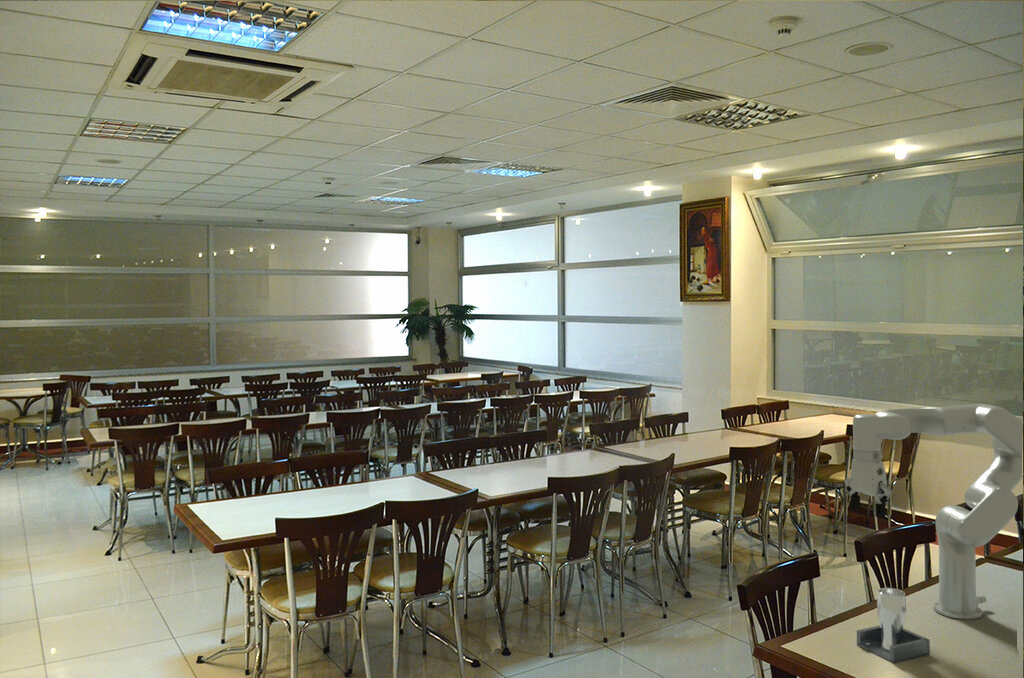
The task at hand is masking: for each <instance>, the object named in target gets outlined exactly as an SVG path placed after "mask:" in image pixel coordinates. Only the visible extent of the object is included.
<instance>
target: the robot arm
mask: <svg viewBox="0 0 1024 678" xmlns="http://www.w3.org/2000/svg"><path fill="white" fill-rule="evenodd" d="M1023 423H1024V422H1023V421H1022V420H1021V419H1019V417H1017V416H1015V415H1014V414H1013V413H1011V412H1009V410H1007V409H1005V408H1004V407H1001V406H997V405H996V406H995V405H992V404H991V405H990V404H987V403H972V404H963V405H962V404H961V405H951V406H950V405H949V406H938V407H937V406H936V407H934V406H933V407H932V406H931V407H916V408H915V407H913V408H897V409H885V410H880V411H877V412H876V413H875V414H874V413H873V414H872V413H859V414H855V415H854V416H853V418H852V441H853V443H852V444H853V445H852V446H853V451H852V452H853V453H852V455H853V456H852V460H851V466H850V467H851V468H850V475H849V476H850V477H847V478H845V479H844V480H843V481H844V485H845V489H846V490H847V492H848V496H849V497H850V509H851V510H852V511H855V510H860V509H861V495H859V494H863V495H866V496H867V495H868V496H871V497H873V498H874V499H875V501H876V503H875V517H876V518H881V517H882V518H884V517H886V515H887V509H886V506H887V505H886V504H887V503H888V502H889V500H890V499H891V496H892V494H893V490H892V489H891V488H890V486H888V485H887V483H888V482H887V473H886V469H885V468H886V467H885V464H884V462H883V461H882V459H883V455H882V441H881V440H882V439H885V440H894V441H900V440H901V441H902V440H904V439H907V438H908V437H909V436H910V435H911V434H912V433H917V434H924V435H931V436H939V437H941V436H942V437H943V436H955V435H967V434H970V435H971V434H977V433H978V434H981V433H982V434H985V435H989V436H992V439H991V440H992V442H991V443H992V446H993V459H992V462H991V463H990V465H988V467H987V468H986V470H984V471H983V472H982V474H981V475H980V476H979V477H977V479H975V480H974V481H973V482H972V483H971V485H970V486H969V487H968V488H966V490H965V492H964V494H963V495H964V497H963V499H964V503H966V505H967V506H968V507H969V508H970V509H972V510H969V509H967V508H965V507H962V506H959V505H955V504H949V505H946V506H945V505H944V506H943V507H942V508H940V509H939V510H938V511H937V514H936V516H935V529H936V530H935V531H936V536H937V541H938V584H939V585H938V588H939V589H938V593H939V594H938V595H939V597H938V599H939V600H938V601H936V602H934V603H933V610H934V611H935V612H936V613H938V614H940V615H942V616H945V617H947V618H948V617H949V618H954V619H959V620H975V619H979V618H981V617H982V616H983V610H982V609H981V608H979V605H980V604H984V603H986V602H987V597H986V596H984V595H980V596H977V591H976V590H977V589H976V588H977V587H976V585H977V581H976V578H977V577H976V572H977V571H976V570H977V568H976V567H977V566H976V565H977V563H976V560H977V559H976V557H977V556H976V550H975V549H976V548H981V547H982V546H984V545H986V544H988V543H989V542H990V541H991V540H993V539H994V537H995V536H996V535H998V534H999V532H1001V530H1002V529H1003V528H1005V527H1006V525H1008V524H1009V523H1010V522H1011V520H1013V518H1014V517H1015V515H1016V514H1017V511H1018V509H1019V508H1018V507H1019V502H1018V498H1017V496H1016V494H1015V493H1014V492H1013V490H1014V489H1015V488H1016V487H1017V485H1018V484H1020V482H1021V481H1022V478H1023V476H1024V474H1023V475H1022V430H1023Z"/></svg>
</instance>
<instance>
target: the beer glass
mask: <svg viewBox="0 0 1024 678" xmlns="http://www.w3.org/2000/svg"><path fill="white" fill-rule="evenodd" d="M876 598H877V599H876V601H877V602H876V604H877V605H876V609H877V617H878V621H879V626H880V627H881V639H880V647H881V648H882V649H884V650H887V651H890V646H893V645H897V644H902V643H904V641H903V630H904V629H905V625H906V624H905V623H906V617H907V602H906V600H907V599H906V593H905V591H903V590H901V589H897V588H892V587H883V588H882V587H881V588H879V589H877V597H876Z"/></svg>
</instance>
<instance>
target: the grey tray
mask: <svg viewBox="0 0 1024 678" xmlns="http://www.w3.org/2000/svg"><path fill="white" fill-rule="evenodd" d="M880 639H881V627H880V625H876V626H871V627H866V628H862V629H857V630H856V645H857V646H858V647H860V648H862V649H864V650H867V651H868V652H871V653H872V654H875V655H876V656H878V657H881V658H883V659H884V660H886V661H888V662H890V663H892V664H897V663H901V662H905V661H909V660H914V659H918V658H923V657H927V656H930V655H931V650H930V649H931V646H930V645H931V642H930V639H928V638H926V637H925V636H922V635H920V634H917V633H915V632H914V631H911V630H909V629H906V628H904V630H903V641H904V643H902V644H897V645H893V646H890V651H887V650H884V649H882V648H881V647H880Z"/></svg>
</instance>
